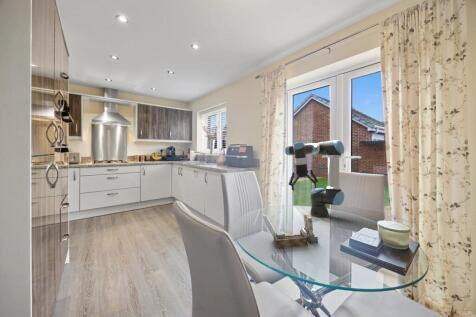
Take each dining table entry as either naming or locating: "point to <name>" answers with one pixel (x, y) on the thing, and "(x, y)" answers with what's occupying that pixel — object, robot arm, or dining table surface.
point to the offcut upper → (280, 234)
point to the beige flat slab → (308, 224)
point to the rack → (291, 240)
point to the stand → (310, 237)
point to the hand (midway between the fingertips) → (304, 193)
